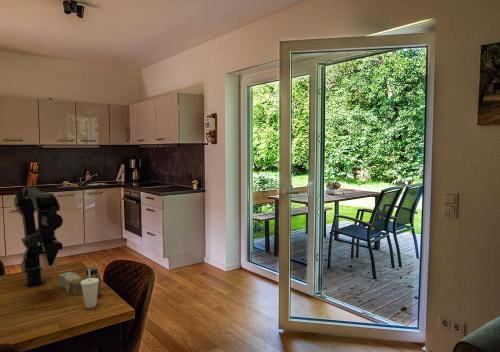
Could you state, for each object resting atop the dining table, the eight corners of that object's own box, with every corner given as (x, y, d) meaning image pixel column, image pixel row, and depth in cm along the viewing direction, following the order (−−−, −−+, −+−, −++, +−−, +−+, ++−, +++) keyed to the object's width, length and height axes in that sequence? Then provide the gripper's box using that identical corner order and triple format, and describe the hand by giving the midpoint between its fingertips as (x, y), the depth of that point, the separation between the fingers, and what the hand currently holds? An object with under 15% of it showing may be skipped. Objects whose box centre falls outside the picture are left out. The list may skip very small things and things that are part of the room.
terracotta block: (39, 266, 148) (39, 254, 147) (53, 263, 151) (52, 251, 151) (43, 269, 144) (42, 257, 144) (57, 266, 147) (56, 254, 147)
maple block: (65, 288, 156) (64, 277, 155) (78, 286, 159) (77, 274, 158) (68, 292, 152) (67, 280, 151) (81, 289, 155) (80, 277, 154)
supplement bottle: (94, 299, 144) (93, 271, 143) (81, 298, 145) (79, 270, 144) (103, 293, 149) (102, 266, 149) (90, 293, 151) (89, 265, 150)
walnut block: (68, 293, 150) (68, 281, 150) (80, 290, 154) (80, 278, 154) (75, 296, 147) (74, 284, 147) (87, 292, 151) (86, 280, 151)
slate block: (59, 286, 159) (58, 275, 158) (70, 282, 163) (69, 271, 163) (66, 288, 156) (66, 277, 156) (77, 284, 161) (76, 273, 160)
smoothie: (82, 311, 134) (80, 273, 132) (81, 304, 139) (79, 268, 138) (101, 307, 136) (99, 270, 135) (99, 301, 142) (97, 265, 141)
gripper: (17, 225, 148) (19, 263, 149) (29, 232, 134) (31, 274, 135) (48, 221, 155) (50, 257, 156) (62, 227, 142) (64, 267, 143)
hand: (48, 264), depth 147 cm, fingers closed on terracotta block, 5 cm apart
